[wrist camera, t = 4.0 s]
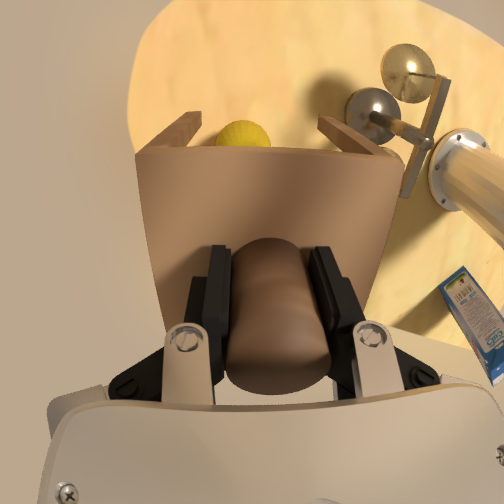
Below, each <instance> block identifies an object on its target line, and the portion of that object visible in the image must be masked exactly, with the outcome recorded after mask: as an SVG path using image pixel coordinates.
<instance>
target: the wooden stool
mask: <svg viewBox="0 0 504 504" xmlns="http://www.w3.org/2000/svg"><path fill="white" fill-rule="evenodd" d="M201 125H202V121H201V111H196V112H186V113H185V114H183V115H182V116H181V117H180V118H178V119H177V120H176V121H175V122H173V123H172V124H171V125H170V126H168V127H167V128H166V129H165V130H163V131H162V132H161V133H160V134H159V135H157V136H156V137H155V138H154V139H153V140H151V141H150V142H149V143H148V144H147V145H146V146H144V147H143V148H142V149H141V150H140V151H139V152H138V153H136V154H135V161H136V170H137V178H138V186H139V194H140V201H141V208H142V214H143V221H144V227H145V233H146V239H147V245H148V250H149V255H150V261H151V266H152V271H153V276H154V281H155V286H156V290H157V295H158V299H159V304H160V308H161V312H162V317H163V321H164V325H165V329H166V333H168V331H169V330H170V329H171V328H172V327H174V326H176V325H178V324H182V323H183V322H184V316H185V311H186V306H187V300H188V295H189V290H190V285H191V280H192V277H193V276H200V277H207V276H208V270H209V263H210V256H211V249H212V245H226V248H231V285H230V307H229V332H228V343H227V355H226V373H227V376H228V378H229V380H230V381H231V382H232V383H233V384H234V385H236V386H237V387H239V388H241V389H243V390H245V391H248V392H251V393H256V394H262V395H282V394H288V393H293V392H297V391H300V390H303V389H306V388H308V387H310V386H312V385H313V384H315V383H317V382H318V381H320V380H321V379H322V378H323V377H324V376H325V375H326V374H327V372H328V371H329V369H330V366H331V356H330V351H329V347H328V343H327V339H326V335H325V331H324V327H323V323H322V319H321V315H320V312H319V308H318V304H317V300H316V296H315V293H314V289H313V285H312V282H311V278H310V274H309V271H308V263H309V257H310V251H311V250H312V249H315V247H316V246H329V247H330V248H331V250H332V253H333V255H334V257H335V260H336V262H337V265H338V267H339V270H340V272H341V275H342V277H348V278H349V279H350V281H351V284H352V286H353V289H354V291H355V294H356V296H357V298H358V301H359V303H360V306H361V308H362V311H364V308H365V305H366V303H367V300H368V297H369V294H370V291H371V288H372V285H373V282H374V279H375V276H376V273H377V270H378V267H379V264H380V261H381V257H382V254H383V251H384V247H385V244H386V241H387V237H388V234H389V230H390V226H391V223H392V219H393V215H394V211H395V207H396V203H397V199H398V195H399V191H400V186H401V182H402V177H403V173H404V168H405V164H403V163H402V162H401V161H399V160H398V159H396V158H395V157H394V156H392V155H391V154H389V153H388V152H387V151H385V150H384V149H382V148H381V147H379V146H378V145H376V144H375V143H373V142H372V141H370V140H369V139H367V138H366V137H364V136H363V135H361V134H360V133H358V132H357V131H355V130H353V129H352V128H350V127H349V126H347V125H345V124H344V123H342V122H340V121H339V120H337V119H335V118H334V117H330V116H320V115H319V117H318V128H317V129H318V130H319V131H320V132H322V133H323V134H324V135H325V136H326V137H327V138H328V139H330V140H331V141H332V142H333V143H334V144H335V145H336V146H337V147H338V148H339V149H341V150H342V151H343V152H339V151H328V150H316V149H301V148H283V147H256V146H193V147H186V146H187V144H188V143H189V142H190V140H191V139H192V138H193V136H194V135H195V133H196V132H197V131H198V129H199V128H200V127H201Z"/></svg>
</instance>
